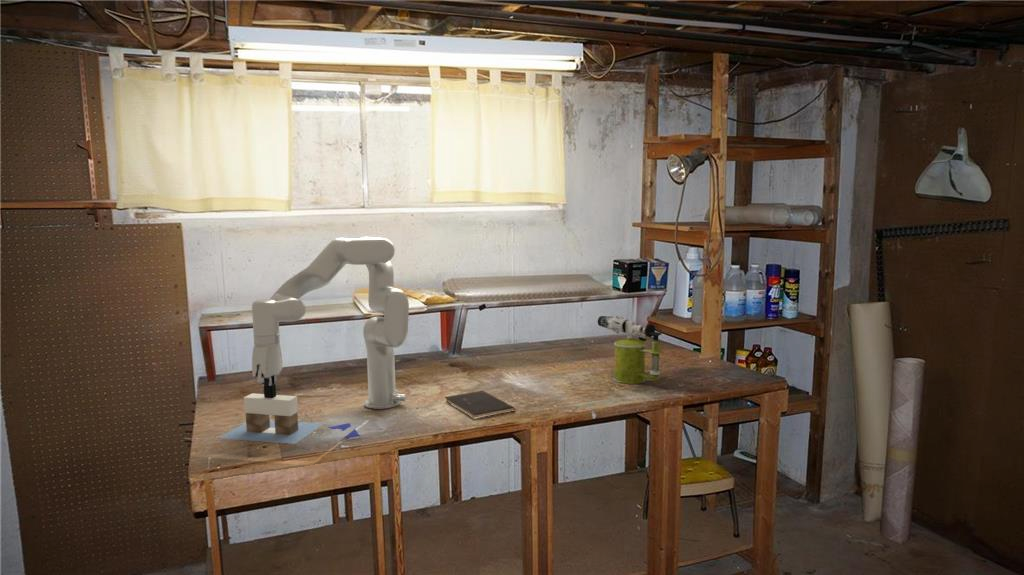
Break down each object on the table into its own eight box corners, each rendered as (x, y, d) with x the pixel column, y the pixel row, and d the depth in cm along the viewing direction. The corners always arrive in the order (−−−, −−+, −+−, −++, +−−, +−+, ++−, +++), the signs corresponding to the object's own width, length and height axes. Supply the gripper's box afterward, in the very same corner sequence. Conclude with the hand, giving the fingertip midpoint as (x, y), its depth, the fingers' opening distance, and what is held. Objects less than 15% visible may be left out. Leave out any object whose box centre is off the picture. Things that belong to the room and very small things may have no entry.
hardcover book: (473, 421, 226) (473, 414, 225) (445, 403, 246) (444, 396, 245) (515, 413, 234) (515, 406, 233) (484, 396, 253) (484, 390, 253)
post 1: (270, 427, 217) (268, 409, 216) (261, 432, 212) (259, 414, 212) (256, 426, 218) (254, 408, 218) (246, 431, 214) (245, 413, 213)
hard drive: (325, 426, 217) (333, 439, 206) (351, 422, 221) (360, 434, 210) (326, 431, 218) (333, 444, 207) (351, 427, 221) (360, 439, 210)
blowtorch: (649, 391, 254) (650, 326, 251) (589, 373, 281) (589, 314, 277) (672, 385, 262) (673, 322, 259) (612, 368, 288) (612, 310, 285)
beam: (298, 411, 214) (297, 396, 213) (290, 416, 210) (289, 400, 209) (253, 408, 218) (252, 393, 217) (244, 412, 213) (243, 397, 213)
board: (324, 426, 220) (324, 423, 220) (295, 447, 203) (294, 443, 203) (252, 421, 226) (252, 418, 226) (218, 441, 209) (218, 437, 208)
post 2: (298, 429, 215) (297, 411, 214) (289, 435, 210) (288, 416, 209) (284, 428, 216) (283, 410, 215) (275, 433, 211) (274, 415, 211)
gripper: (269, 334, 218) (272, 389, 221) (241, 344, 204) (245, 403, 206) (290, 335, 217) (293, 391, 219) (263, 345, 202) (267, 405, 205)
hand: (270, 396), depth 213 cm, fingers closed
